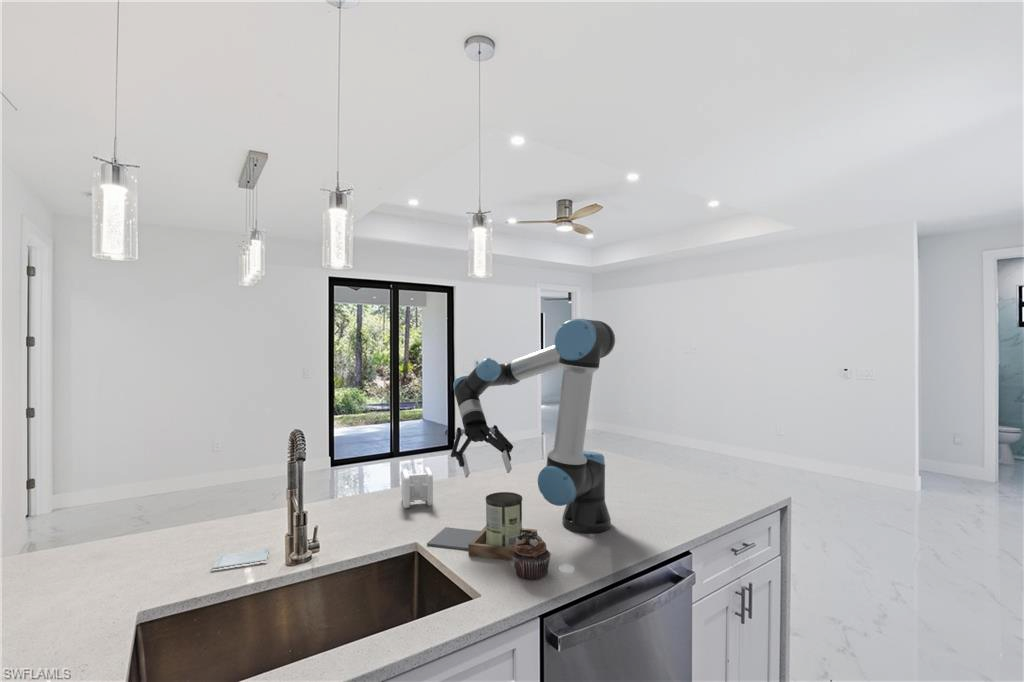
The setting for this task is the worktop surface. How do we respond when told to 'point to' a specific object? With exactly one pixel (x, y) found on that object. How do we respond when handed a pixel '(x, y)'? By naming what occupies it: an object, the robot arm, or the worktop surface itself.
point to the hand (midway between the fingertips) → (488, 473)
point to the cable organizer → (417, 487)
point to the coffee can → (503, 518)
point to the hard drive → (240, 558)
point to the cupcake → (530, 556)
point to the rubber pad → (453, 538)
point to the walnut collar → (490, 547)
